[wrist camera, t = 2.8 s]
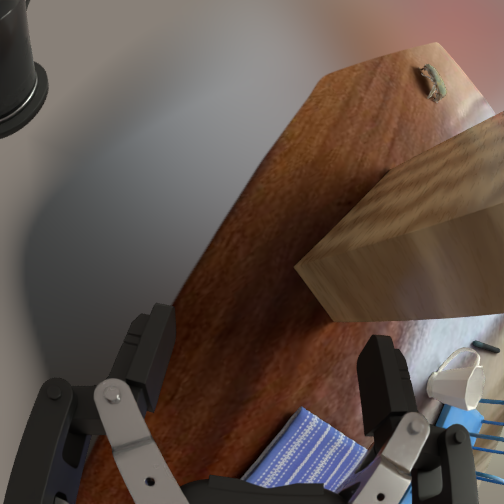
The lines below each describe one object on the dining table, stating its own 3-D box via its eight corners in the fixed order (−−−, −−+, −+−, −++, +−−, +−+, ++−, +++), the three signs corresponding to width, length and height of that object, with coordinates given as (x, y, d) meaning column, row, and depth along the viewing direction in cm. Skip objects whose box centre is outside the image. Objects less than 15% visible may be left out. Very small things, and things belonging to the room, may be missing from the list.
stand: (336, 331, 34) (632, 310, 6) (284, 262, 33) (613, 145, 5) (421, 215, 45) (593, 152, 17) (388, 162, 44) (558, 71, 16)
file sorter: (448, 389, 41) (525, 394, 28) (476, 416, 45) (538, 422, 31) (378, 521, 32) (450, 554, 18) (422, 524, 35) (480, 545, 22)
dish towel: (331, 554, 28) (342, 562, 25) (201, 517, 24) (209, 531, 21) (397, 467, 35) (410, 472, 32) (296, 402, 31) (310, 408, 28)
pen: (502, 352, 50) (501, 348, 51) (477, 343, 45) (475, 338, 46) (499, 354, 50) (497, 350, 51) (472, 346, 46) (471, 341, 46)
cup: (415, 397, 38) (459, 403, 31) (438, 338, 42) (480, 337, 34) (434, 411, 39) (474, 417, 32) (454, 357, 43) (493, 357, 36)
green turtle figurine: (412, 74, 53) (430, 65, 50) (416, 67, 59) (431, 59, 56) (432, 108, 56) (450, 100, 52) (434, 97, 62) (450, 90, 58)
